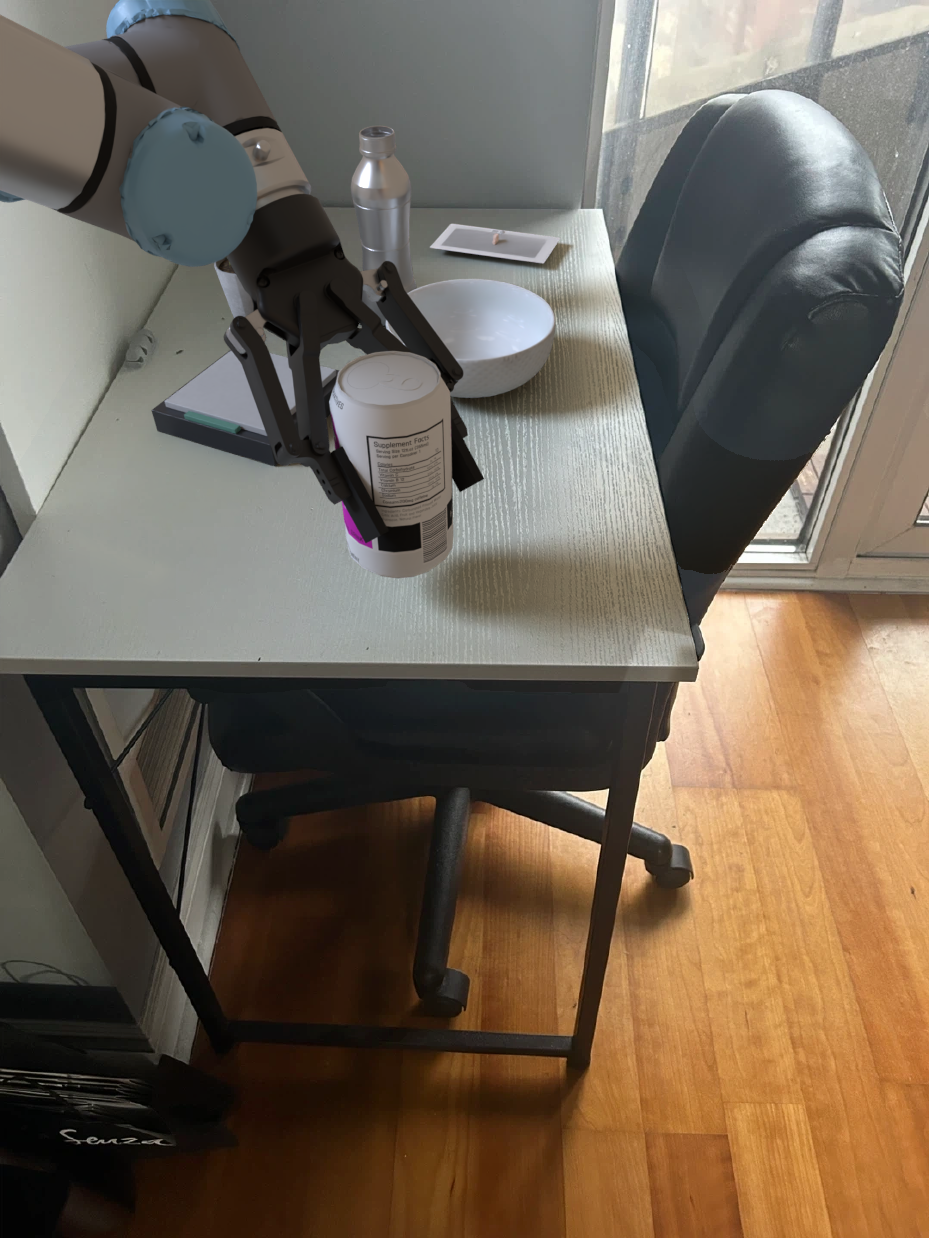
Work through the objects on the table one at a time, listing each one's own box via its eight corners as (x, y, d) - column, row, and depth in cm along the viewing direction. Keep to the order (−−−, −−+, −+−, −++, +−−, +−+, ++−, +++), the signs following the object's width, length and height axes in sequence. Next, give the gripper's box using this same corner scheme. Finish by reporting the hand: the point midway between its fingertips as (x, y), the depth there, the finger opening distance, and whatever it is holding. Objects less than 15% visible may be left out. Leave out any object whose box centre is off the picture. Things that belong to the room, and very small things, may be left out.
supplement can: (330, 568, 72) (304, 396, 61) (377, 506, 77) (361, 338, 67) (427, 595, 70) (418, 420, 59) (469, 529, 75) (467, 359, 64)
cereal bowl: (399, 431, 92) (394, 366, 87) (383, 347, 104) (377, 285, 99) (569, 413, 94) (573, 348, 89) (534, 332, 105) (536, 271, 100)
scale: (275, 466, 88) (269, 438, 86) (157, 431, 93) (149, 403, 90) (352, 393, 97) (349, 366, 95) (241, 364, 101) (236, 338, 99)
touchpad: (543, 272, 116) (544, 254, 114) (429, 256, 120) (429, 239, 118) (560, 246, 121) (561, 229, 120) (451, 231, 125) (450, 215, 123)
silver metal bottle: (365, 335, 105) (346, 146, 91) (361, 307, 110) (342, 123, 96) (422, 330, 106) (412, 141, 92) (415, 302, 111) (405, 119, 97)
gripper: (138, 236, 57) (324, 566, 59) (408, 152, 67) (557, 439, 69) (120, 290, 63) (288, 585, 66) (368, 207, 73) (505, 467, 76)
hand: (425, 510), depth 68 cm, fingers closed on supplement can, 8 cm apart
